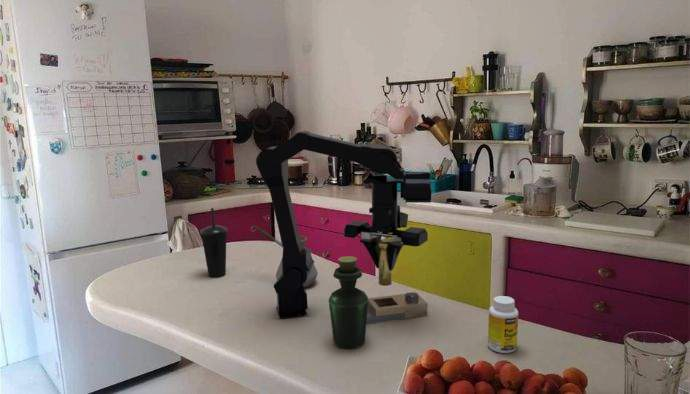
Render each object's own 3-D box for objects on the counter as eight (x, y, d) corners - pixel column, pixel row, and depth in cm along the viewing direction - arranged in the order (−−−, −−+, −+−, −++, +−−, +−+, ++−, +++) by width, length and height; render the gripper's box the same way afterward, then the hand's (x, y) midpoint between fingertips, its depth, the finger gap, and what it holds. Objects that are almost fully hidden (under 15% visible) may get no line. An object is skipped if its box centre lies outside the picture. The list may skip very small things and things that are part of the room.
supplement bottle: (504, 357, 97) (506, 307, 95) (481, 346, 101) (483, 298, 99) (522, 349, 100) (525, 300, 98) (500, 338, 104) (501, 291, 102)
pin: (389, 287, 113) (389, 245, 111) (373, 284, 115) (373, 242, 113) (396, 282, 117) (396, 240, 115) (381, 279, 119) (381, 238, 117)
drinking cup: (236, 273, 148) (231, 207, 145) (216, 281, 142) (211, 212, 138) (217, 269, 152) (212, 204, 149) (198, 276, 146) (192, 209, 142)
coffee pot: (326, 281, 140) (324, 228, 137) (301, 294, 131) (298, 239, 128) (268, 268, 152) (265, 220, 149) (241, 280, 142) (237, 229, 139)
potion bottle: (367, 332, 109) (366, 252, 105) (370, 350, 101) (369, 265, 97) (330, 333, 108) (327, 253, 105) (329, 352, 100) (326, 266, 97)
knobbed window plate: (352, 325, 112) (352, 308, 111) (344, 313, 119) (344, 297, 118) (427, 315, 116) (427, 299, 116) (415, 303, 123) (415, 288, 122)
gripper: (437, 199, 114) (436, 264, 117) (364, 193, 124) (365, 254, 127) (418, 208, 105) (417, 279, 108) (341, 201, 114) (343, 266, 117)
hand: (384, 269), depth 115 cm, fingers closed on pin, 3 cm apart
